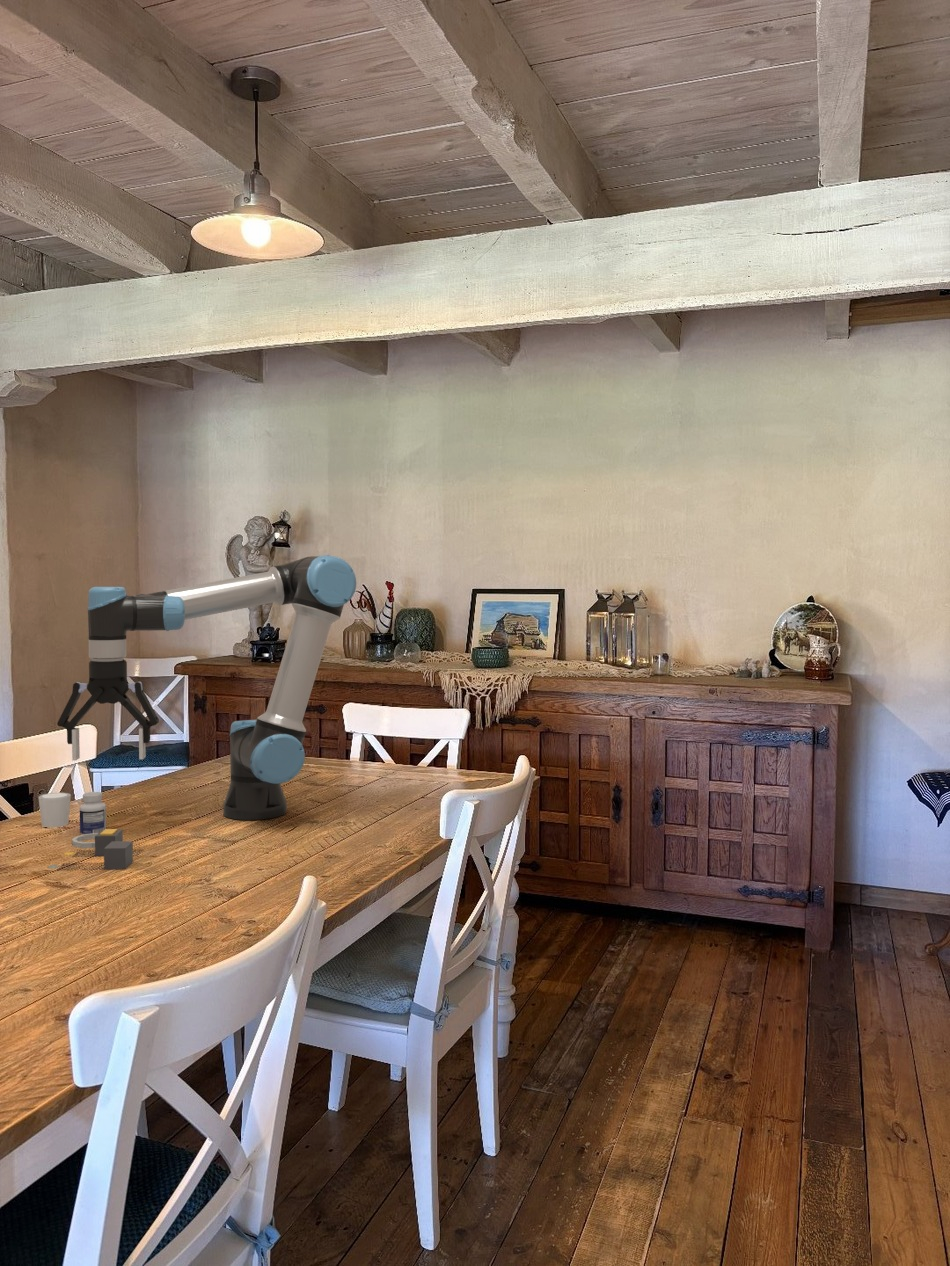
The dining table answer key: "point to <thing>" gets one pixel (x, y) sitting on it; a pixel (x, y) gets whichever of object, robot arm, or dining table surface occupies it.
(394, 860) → the dining table surface
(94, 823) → the pill bottle
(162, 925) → the dining table surface
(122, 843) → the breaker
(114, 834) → the tagged breaker
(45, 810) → the grey cup
